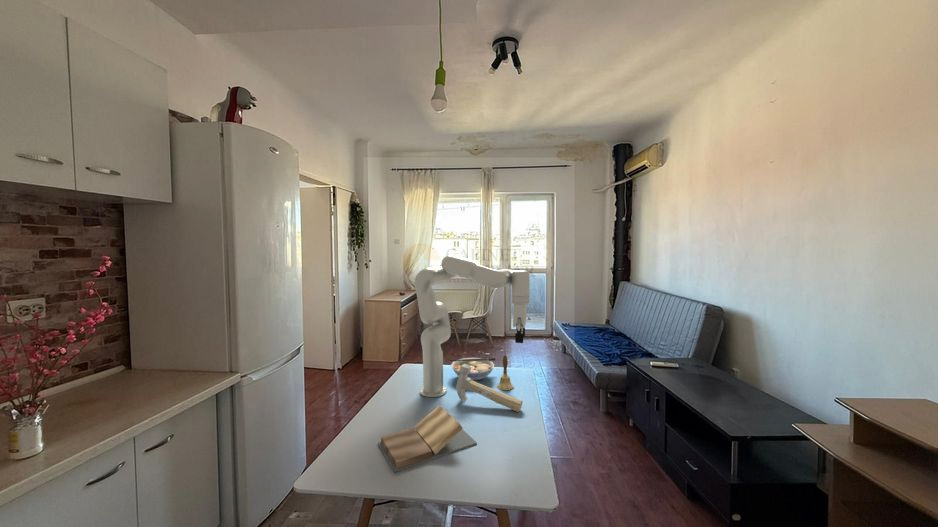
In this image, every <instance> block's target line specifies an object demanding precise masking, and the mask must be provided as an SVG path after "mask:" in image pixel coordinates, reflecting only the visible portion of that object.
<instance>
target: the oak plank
mask: <svg viewBox="0 0 938 527" xmlns="http://www.w3.org/2000/svg"><path fill="white" fill-rule="evenodd" d="M413 428H414V429H415V431H417V432H418V433H419V435H420V436H421V437H422V438H423V440H424V441H425V442H426V443H427V445H428V446H429V447H430V448H431V449H432V451H433V452H434V453H435V454H437V453H438V452H439V451H440V450H441V449H442V448H443V447H444V446H445V445H446V444H447V443H448V442H449V441H450V440H451V439H452V438H453V437H454V436H456V435H457V434H458V433H459V432H460V431H461V430H462V429H463V426H462V425H461V423H459V421H457V420H456V418H454V417H453V416H452V415H451V414H450V413H449V412H447V410H446V409H444V408H443V407H442V406H441V405H440V404H438V405H437V406H436V407H435V408H434V409H433V410H432V411H431V412H429V413H428V414H427V415H426V416H425V417H424V418H423V419H422V420H420V421H419V422H418V423H417V424H416V425H414V427H413ZM463 430H464V429H463Z"/></svg>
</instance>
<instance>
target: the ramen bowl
mask: <svg viewBox="0 0 938 527" xmlns="http://www.w3.org/2000/svg"><path fill="white" fill-rule="evenodd" d="M449 361H450V362H452V363H451V365H450V366H451V368H452V370H453V372H454V374H455V375H456V376H458V377H459V376H460V374H461V373H460V368H461V366H462V365H463V364H467V365H469V366H470V367H471V371H470V373H469V374H467V377H469V378H471V380H473V381H475V382H477V381H479V380H483V379H485V378H486V377H488V376H489V375H490V374H491V373H492V371H493V370H494V367H495V364H494V362H493V361H496V358H495V357H488V358H484V357H483V358H481V357H465V358H460V359H449Z"/></svg>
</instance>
